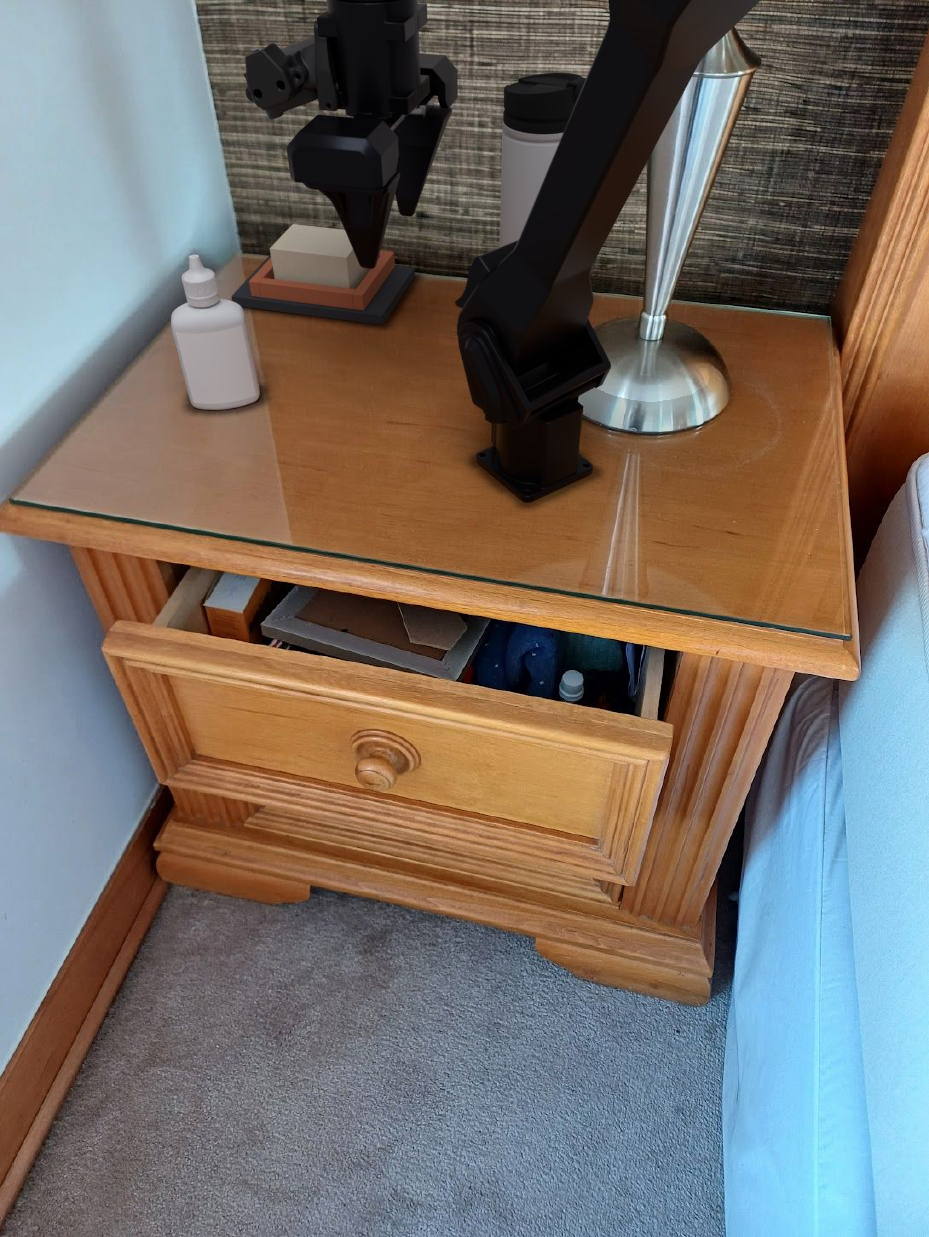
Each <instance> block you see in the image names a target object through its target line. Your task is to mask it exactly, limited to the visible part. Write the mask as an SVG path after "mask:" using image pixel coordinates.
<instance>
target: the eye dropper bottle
mask: <svg viewBox="0 0 929 1237" xmlns="http://www.w3.org/2000/svg"><path fill="white" fill-rule="evenodd" d="M181 282H182V286H183V290H184V295H185V298H186V302H185V303H183V304H181V305H179V306H178V307H176V308H175V309H174V310H173V311H172V313H171V316H170V326H171V332H172V336H173V340H174V344H175V348H176V351H177V356H178V360H179V364H180V368H181V371H182V375H183V379H184V382H185V386H186V391H187V394H188V399H189V402H190V403H191V405H192V407H193V408H196V409H200V410H206V411H207V410H209V411H221V410H231V409H235V408H240V407H244V406H247V405H251V404H253V403H255V402H257V401H258V399H259V397H260V395H261V393H260V385H259V378H258V374H257V373H258V372H257V369H256V364H255V358H254V354H253V349H252V343H251V338H250V333H249V328H248V323H247V318H246V314H245V311H244V307H241V306H240V305H239V304H237V303H235V302H233V301H232V300H229V299H226V298H221V297H220V292H219V287H218V283H217V278H216V274H215V271H214V270H212V269H211V268H208V267H204V265H203V263H202V261H201V258H200V256H199V255H198V254H190V255H189V256H188V270H186V271H185V272H183V273H182V275H181Z"/></svg>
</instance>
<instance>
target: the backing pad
mask: <svg viewBox="0 0 929 1237" xmlns="http://www.w3.org/2000/svg"><path fill="white" fill-rule="evenodd" d="M395 261H396V260H395V252H394V251H390V250H382V249H381V250H380V254H379V257H378V261H377V264H376V266H375V268H373V269H370V271H369V273H368V274H367V275H366V277H365V278H364V279H363V281H362V282H361V283H360V285H359V286H358V287H357V289H350V288H342V287H333V286H325V285H317V284H309V283H301V282H293V281H285V280H277V279H275V277H274V271H273V265H272V259H271V253H269V255H268V256H267V257H266V258H265V260H264V261H263V262H262V263H261V264H260V265H259V266H258V267H257V268H256V269H255V270H254V271H253V272H252V273H251V275H250V276H248V277H247V279H246V280H245V281H244V282H243V283H242V284H241V285H240V286H239V287H238V289H237V290H236V291H235V292H234V293H233V294H232V295H231V301H233V302H235V303H237V304H239V305H240V306H241V307H242V308H247V309H248V308H249V309H256V310H262V311H263V310H264V311H269V312H270V311H271V312H278V313H285V314H286V313H287V314H294V315H300V316H301V315H302V316H310V317H315V318H316V317H317V318H324V319H325V318H326V319H331V320H341V321H347V322H355V323H363V324H371V325H379V326H384V324H385V323H386V322H387V320H388V318H389V317H390V315H391V314H392V313H393V311H394V309H395V308H396V306H397V305H398V303H399V301H400V300H401V298H402V297H403V295H405V292H406V291H407V289H408V288H409V286H411V284H412V282H413V280H414V279H415V277H416V270H415V267H414V266H406V265H398V264H396V263H395Z"/></svg>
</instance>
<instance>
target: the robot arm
mask: <svg viewBox="0 0 929 1237" xmlns="http://www.w3.org/2000/svg"><path fill="white" fill-rule="evenodd" d="M761 1H762V0H608V12H609V19H608V23H607V27H606V30H605V32H604V34H603V37H602V39H601V42H600V44H599V47H598V49H597V51H596V53H595V56H594V59H593V61H592V63H591V66H590V68H589V71H588V72H587V75H586V77H585V78H586V80H585V82H584V85H583V87H582V90H581V92H580V94H579V97H578V99H577V101H576V104H575V106H574V109H573V111H572V113H571V116H570V118H569V121H568V123H567V125H566V128H565V130H564V132H563V135H562V137H561V140H560V142H559V144H558V147H557V149H556V152H555V154H554V156H553V159H552V161H551V164H550V166H549V168H548V171H547V173H546V175H545V178H544V180H543V183H542V185H541V187H540V190H539V192H538V195H537V197H536V199H535V202H534V204H533V207H532V209H531V211H530V214H529V216H528V218H527V221H526V223H525V226H524V228H523V230H522V233H521V235H520V238H519V240H517V241H514V242H512V243H510V244H507V245H505V246H502V247H500V246H499V247H498V248H495V249H492V250H490V251H488V252H486V253H483V254H481V255H479V256H478V255H477V256H476V257H475V258H474V260H473V262H472V264H471V265H470V267H469V268H468V274H467V278H466V283H465V287H464V290H463V291H462V293H461V296H460V297H458V298H457V299H456V300H455V301H454V304H455V306H456V307H457V308H460V309H461V310H460V312H459V313H458V317H457V323H456V335H457V345H458V350H459V353H460V358H461V361H462V366H463V369H464V374H465V377H466V378H465V379H466V382H467V386H468V390H469V393H470V399H471V401H472V404H473V406H475V407H477V408H478V409H479V410H482V412H483V414H484V421H486V422H487V423H489V424H491V428H490V429H491V432H490V433H491V434H490V438H491V439H490V442H491V443H492V446H490V447H487V448H485V449H483V450H480V451H478V452H476V455H475V461H476V462H477V463H478V464H479V465H481V467H482V468H484V469H485V470H486V471H488V473H490V474H491V475H492V476H493V477H494V478H496V479H497V480H498V481H499V482H501V484H503V485H504V486H505V487H506V488H508V490H510V491H511V492H512V493H514V494H515V495H516V496H517V497H518V498H519V499H521V500H522V501H524V502H532V501H533V500H535V499H538V498H540V497H542V496H544V495H546V494H548V493H551V492H553V491H555V490H557V489H560V488H561V487H564V486H566V485H568V484H570V483H573V482H574V481H577V480H578V479H581V478H583V477H585V476H588V475H589V474H591V473H592V472H593V470H594V469H593V468H594V465H593V463H592V462H591V461H589V460H587V458H585V457H584V456H583V455H581V454H580V445H581V436H582V435H581V434H582V425H583V424H582V423H583V416H584V405H583V404H581V403H580V402H579V398H580V396H582V395H584V394H585V393H588V392H589V391H591V390H593V389H597V388H599V387H601V386H603V384H604V382H605V381H606V379H607V378H608V377H607V376H608V375H609V373H610V371H611V370H612V362H611V361H610V359H609V357H608V355H607V353H606V351H605V349H604V347H603V345H602V344H601V341H600V340H599V337H598V335H597V333H596V331H595V329H594V328H593V326H592V324H591V322H590V319H589V317H590V313H591V310H592V307H593V305H594V292H593V286H592V279H591V271H592V267H593V265H594V264H595V261H596V260H597V258H598V255H599V254H600V252H601V250H602V249H603V246H604V244H605V243H606V241H607V238H608V237H609V235H610V233H611V231H612V229H613V227H614V226H615V224H616V221H617V220H618V218H619V217H620V214H621V213H622V210H623V208H624V206H625V205H626V203H627V201H628V199H629V197H630V196H631V193H632V191H633V189H634V188H635V186H636V184H637V182H638V180H639V178H640V176H641V174H642V172H643V171H644V169H645V167H646V165H647V163H648V161H649V159H650V157H651V156H652V153H654V152H653V151H654V150H655V149H656V146H657V144H658V142H659V140H660V138H661V137H662V134H663V133H664V132H665V129H666V127H667V125H668V124H669V121H670V120H671V118H672V116H673V115H674V112H675V110H676V108H677V107H678V104H679V102H680V100H681V99H682V96H683V95H684V93H685V92H686V89H687V87H688V85H689V83H690V82H691V79H692V78H693V76H694V75H695V72H696V70H697V69H698V66H699V65H700V63H701V62H702V60H703V59H704V57H705V56H706V55H707V54H708V53H709V52H710V50H712V49H713V47H715V46H716V45H717V44H718V43H719V42H720V41H721V40H722V39H723V38H724V37H725V36H726V35H727V34H728V33H729V32H730V31H731V30H732V29H733V28H734V27H735V26H736V25H737V24H738V23H739V22H740V21H741V20H743V18H744V17H746V15H748V14H749V13H750V12H751V11H752V10H753V9H754V8H755V7H756V6H757V5H758V4H759V3H760V2H761ZM325 2H326V7H327V8H326V10H325V11H323V12H322V13H321V14H319V15H318V16H317V17H316V20H315V21H314V23H313V35H312V36H310V37H307V38H305V39H302V40H300V41H297V42H295V43H291V44H289V45H287V46H284V47H283V48H281V47H279V46H278V45H277V44H276V43H274V42H272V43H269V44H268V45H266V46H265V47H263V48H261V49H259V48H257V49H254V50H253V51H251V52H250V53H249V54H247V55H246V56H245V57H244V60H245V61H244V62H245V72H244V73H243V77H244V80H245V82H246V89H245V97H246V98H247V99H248V101H249V102H253V103H254V105H256V107H257V108H259V109H260V110H263V111H265V114H266V116H267V118H268V119H269V120H275V119H278V118H281V117H282V116H284V113H285V112H287V111H290V110H293V109H295V108H299V107H301V106H304V105H306V104H309V103H312V102H315V101H318V110H319V111H327V112H337V111H338V110H344V112H345V116H339V115H330V114H329V115H327V114H317V115H315V117H313V118H312V119H311V120H310V121H309V122H308V123H306V124H305V125H304V126H303V127H302V128H301V129H300V130H298V131H297V133H296V134H295V135H294V137H293V138H292V139H291V141H290V142H289V143H288V144H287V145H286V146H285V148H286V149H285V150H286V156H287V164H288V170H289V178H290V179H291V180H292V181H293V182H294V183H299V184H303V185H304V186H305V187H306V189H309V190H315V191H318V192H320V193H321V194H322V195H324V196H325V197H326V198H328V200H329V201H330V202H331V204H332V206H333V208H334V210H335V212H336V214H337V216H338V218H339V220H340V223H341V225H342V227H343V230H345V232H346V234H347V236H348V239H349V241H350V244H351V246H352V248H353V251H354V253H355V255H356V258H357V260H358V262H359V265H360V266H361V267H362V268H369V269H373V268H375V266H376V264H377V261H378V257H379V254H380V250H382V247H383V242H384V239H385V235H386V230H387V227H388V222H389V219H390V215H391V211H392V207H393V203H394V200H396V204H397V209H398V213H399V215H400V216H401V217H408V218H410V217H413V216H414V215H415V214H416V210H417V207H418V205H419V202H420V199H421V197H422V193H423V190H424V188H425V185H426V182H427V180H428V176H429V174H430V171H431V168H432V166H433V163H434V160H435V157H436V154H437V151H438V149H439V147H440V144H441V141H442V139H443V135H444V133H445V130H446V128H447V125H448V122H449V120H450V118H451V117H452V115H453V114H452V113H453V108H452V106H453V105H454V103H455V102H456V101H457V99H458V98H459V78H458V75H459V74H458V69H457V68H456V66H455V65H454V64H453V63H452V61H451V59H449V58H448V57H447V55H446V54H435V53H434V54H433V53H421V52H420V30H421V29H422V28H423V27H424V26H425V25H426V24H427V23H428V22H429V21H428V3H420V2H419V0H325ZM435 97H437V102H438V104H439V105H438V104H434V103H435V102H434V101H435V100H434V99H435Z"/></svg>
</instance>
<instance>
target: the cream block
mask: <svg viewBox="0 0 929 1237" xmlns="http://www.w3.org/2000/svg"><path fill="white" fill-rule="evenodd" d="M269 252H270V253H269V254H271V259H272V265H273V271H274V277H275V279H277V280H285V281H293V282H301V283H309V284H317V285H325V286H333V287H342V288H350V289H357V287H358V286H359V285H360V283H361V282H362V281H363V279H364V278H365V277H366V275H367V274H368V273H369V271H370V269H369V268H362V267H361V266H360V265H359V262H358V260H357V258H356V255H355V253H354V251H353V248H352V246H351V244H350V241H349V239H348V236H347V234H346V232H345V229H342V228H341V229H340V228H332V227H324V226H323V227H321V226H314V225H305V224H296V223H293V224H291V225H290V226H289V227H288V229H286V230H285V231H284V232H283V234H282V235H281V236H280V237H279V238H278V239H277V240H276V241H275V242H274V243H273V244H272V245H271V247H269Z"/></svg>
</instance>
